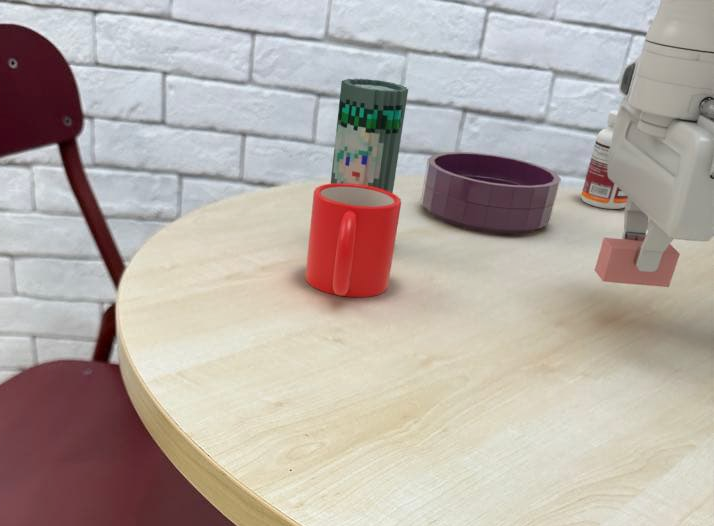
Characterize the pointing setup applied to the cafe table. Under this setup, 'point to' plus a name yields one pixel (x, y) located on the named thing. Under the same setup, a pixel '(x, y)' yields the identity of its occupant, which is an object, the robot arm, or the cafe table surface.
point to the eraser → (632, 264)
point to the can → (368, 132)
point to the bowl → (489, 192)
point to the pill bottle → (602, 173)
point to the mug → (352, 239)
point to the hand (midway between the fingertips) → (636, 260)
